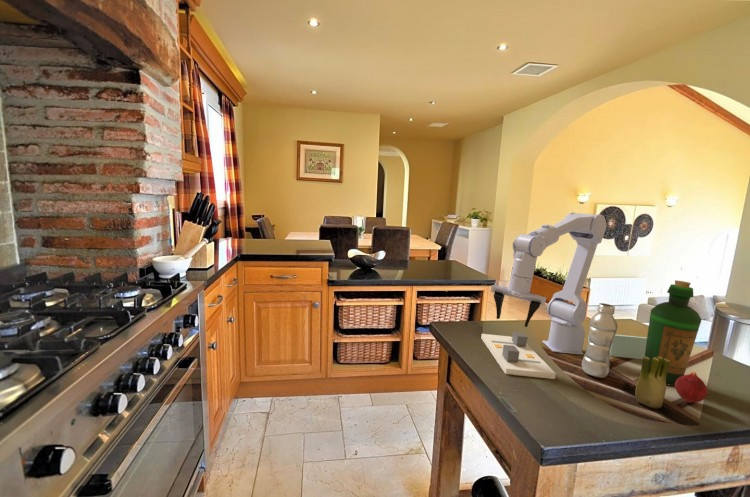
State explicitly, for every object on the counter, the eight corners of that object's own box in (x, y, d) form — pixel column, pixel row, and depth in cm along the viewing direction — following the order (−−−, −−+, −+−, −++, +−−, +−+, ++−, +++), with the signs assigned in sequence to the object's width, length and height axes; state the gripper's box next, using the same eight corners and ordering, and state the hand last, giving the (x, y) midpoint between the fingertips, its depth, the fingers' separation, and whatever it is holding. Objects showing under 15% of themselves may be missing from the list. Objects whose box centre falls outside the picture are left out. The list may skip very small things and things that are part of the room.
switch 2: (521, 341, 109) (522, 332, 109) (526, 346, 105) (527, 337, 105) (511, 340, 109) (513, 331, 109) (516, 345, 106) (517, 336, 105)
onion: (709, 411, 81) (717, 380, 80) (682, 406, 82) (689, 375, 81) (692, 398, 86) (699, 368, 85) (666, 393, 87) (673, 364, 86)
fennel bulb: (633, 404, 81) (643, 356, 79) (631, 395, 85) (640, 349, 83) (664, 414, 78) (676, 364, 76) (660, 404, 82) (671, 357, 80)
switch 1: (512, 355, 98) (514, 345, 97) (517, 362, 94) (519, 351, 93) (502, 354, 98) (503, 344, 97) (506, 361, 94) (508, 350, 93)
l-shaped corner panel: (647, 361, 109) (652, 338, 108) (609, 357, 109) (613, 335, 108) (621, 345, 120) (625, 325, 119) (587, 342, 121) (591, 321, 120)
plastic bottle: (603, 372, 97) (616, 304, 94) (611, 383, 90) (625, 310, 87) (577, 366, 99) (589, 300, 96) (583, 377, 92) (596, 306, 89)
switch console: (520, 341, 114) (520, 337, 113) (555, 379, 90) (556, 373, 90) (481, 337, 114) (481, 333, 114) (505, 373, 90) (506, 367, 90)
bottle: (675, 392, 89) (699, 287, 85) (630, 372, 98) (649, 277, 94) (693, 385, 94) (717, 286, 90) (648, 366, 103) (668, 276, 99)
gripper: (493, 271, 97) (483, 317, 98) (549, 284, 90) (538, 332, 92) (497, 270, 103) (488, 313, 105) (549, 281, 97) (539, 327, 98)
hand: (511, 322), depth 99 cm, fingers open, 7 cm apart
